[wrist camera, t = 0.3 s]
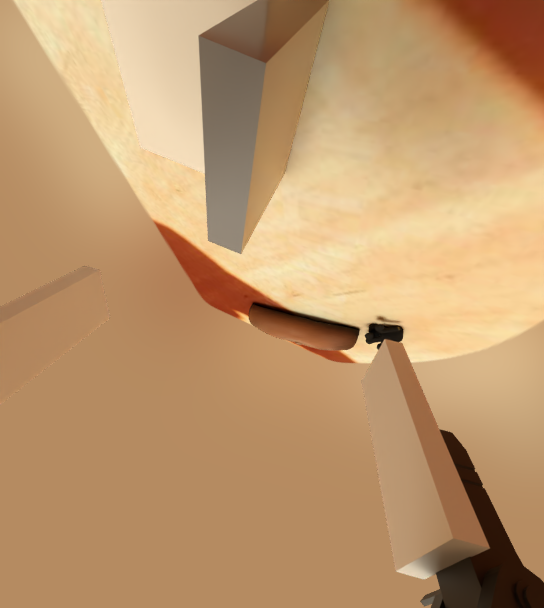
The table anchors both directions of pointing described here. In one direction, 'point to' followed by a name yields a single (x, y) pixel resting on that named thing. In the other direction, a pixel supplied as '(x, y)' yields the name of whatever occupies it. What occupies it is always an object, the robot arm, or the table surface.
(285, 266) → the table surface
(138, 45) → the felt mat
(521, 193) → the table surface
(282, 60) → the slate tile
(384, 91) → the table surface
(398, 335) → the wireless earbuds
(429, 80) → the table surface
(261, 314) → the sunglasses case
